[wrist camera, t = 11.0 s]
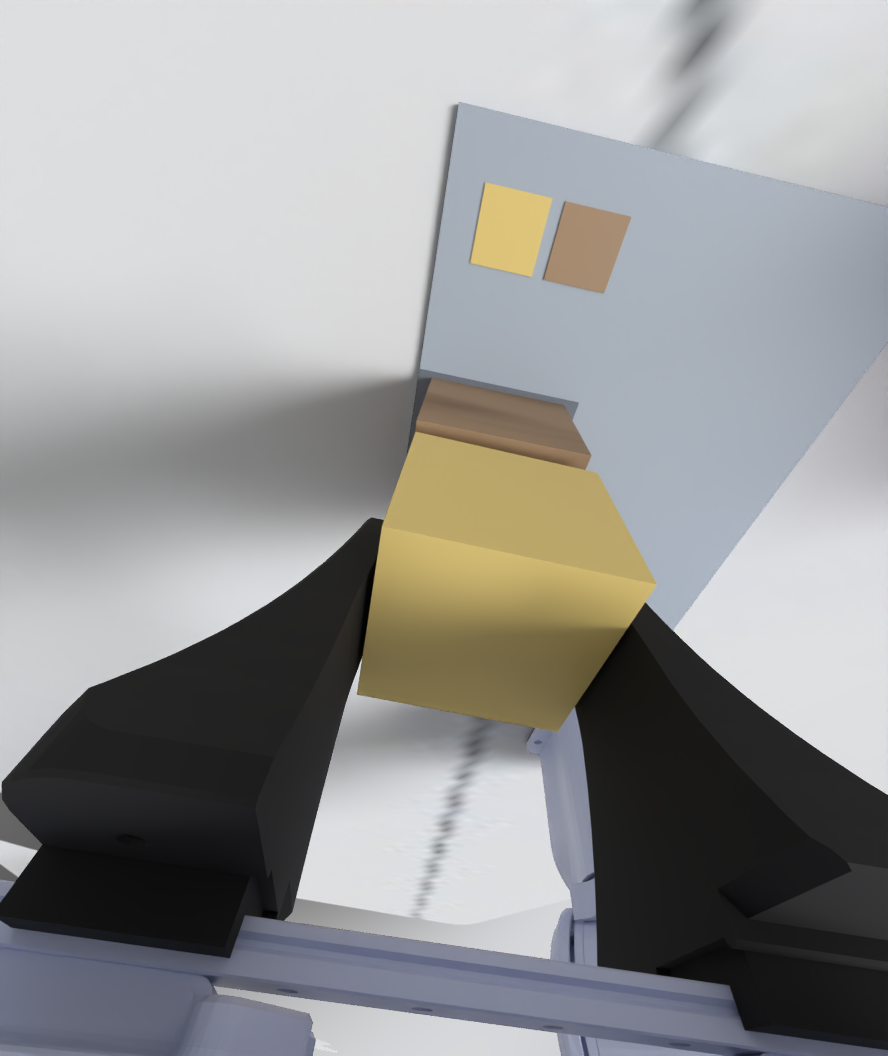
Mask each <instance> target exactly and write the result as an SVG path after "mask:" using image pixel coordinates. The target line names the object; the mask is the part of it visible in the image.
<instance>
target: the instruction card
mask: <svg viewBox="0 0 888 1056" xmlns="http://www.w3.org/2000/svg"><path fill="white" fill-rule="evenodd" d="M887 342H888V207H886V206H882V205H878V204H874V203H870V202H866V201H862V200H857V199H853V198H849V197H845V196H841V195H837V194H833V193H829V192H825V191H821V190H817V189H813V188H809V187H804V186H800V185H796V184H792V183H788V182H784V181H780V180H776V179H772V178H768V177H764V176H760V175H756V174H751V173H747V172H743V171H739V170H735V169H731V168H727V167H723V166H719V165H715V164H711V163H707V162H703V161H698V160H694V159H690V158H686V157H682V156H678V155H674V154H670V153H666V152H662V151H658V150H654V149H650V148H645V147H641V146H637V145H633V144H629V143H625V142H621V141H617V140H613V139H609V138H605V137H601V136H596V135H592V134H588V133H584V132H580V131H576V130H572V129H568V128H564V127H560V126H556V125H552V124H548V123H543V122H539V121H535V120H531V119H527V118H523V117H519V116H515V115H511V114H507V113H503V112H499V111H495V110H490V109H486V108H482V107H478V106H474V105H470V104H466V103H462V102H459V105H458V112H457V118H456V125H455V132H454V139H453V146H452V152H451V159H450V166H449V173H448V179H447V186H446V193H445V200H444V207H443V213H442V220H441V227H440V234H439V241H438V247H437V254H436V261H435V268H434V274H433V281H432V288H431V295H430V302H429V308H428V315H427V322H426V329H425V336H424V342H423V349H422V356H421V363H420V369H419V375H418V382H417V389H416V396H415V403H414V409H413V416H412V423H411V430H410V436H409V443H408V450H407V455H408V452H409V449H410V446H411V443H412V440H413V438H414V435H415V429H416V422H417V418H418V415H419V412H420V410H421V407H422V404H423V401H424V398H425V396H426V393H427V390H428V387H429V384H430V382H431V379H432V378H436V379H441V380H446V381H451V382H456V383H460V384H465V385H470V386H475V387H479V388H484V389H489V390H494V391H498V392H503V393H508V394H513V395H518V396H522V397H527V398H532V399H537V400H541V401H546V402H551V403H556V404H560V405H564V406H565V408H566V410H567V411H568V413H569V415H570V417H571V419H572V421H573V422H574V424H575V426H576V428H577V430H578V432H579V433H580V435H581V437H582V439H583V441H584V443H585V444H586V446H587V448H588V450H589V452H590V454H591V455H592V456H591V458H590V461H589V463H588V465H587V468H586V470H587V471H592V472H596V473H598V475H599V476H600V478H601V480H602V482H603V484H604V486H605V488H606V490H607V491H608V493H609V495H610V497H611V499H612V501H613V503H614V505H615V506H616V508H617V510H618V512H619V514H620V516H621V518H622V520H623V521H624V523H625V525H626V527H627V529H628V531H629V533H630V535H631V536H632V538H633V540H634V542H635V544H636V546H637V548H638V550H639V551H640V553H641V555H642V557H643V559H644V561H645V563H646V565H647V567H648V568H649V570H650V572H651V574H652V576H653V578H654V580H655V582H656V583H657V586H656V587H655V589H654V590H653V592H652V593H651V594H650V596H649V597H648V599H647V600H646V603H647V604H648V605H649V606H650V608H651V609H652V610H653V611H654V612H655V613H656V614H657V615H658V616H659V617H660V618H661V619H662V620H663V621H664V622H665V623H666V624H667V625H668V626H669V627H670V628H671V629H672V630H674V628H675V627H676V625H677V624H678V623H679V621H680V620H681V619H682V617H683V616H684V615H685V613H686V612H687V611H688V609H689V608H690V607H691V605H692V604H693V603H694V601H695V600H696V599H697V597H698V596H699V595H700V593H701V592H702V591H703V589H704V588H705V587H706V585H707V584H708V583H709V581H710V580H711V578H712V577H713V576H714V574H715V573H716V572H717V570H718V569H719V568H720V566H721V565H722V564H723V562H724V561H725V560H726V558H727V557H728V556H729V554H730V553H731V552H732V550H733V549H734V548H735V546H736V545H737V544H738V542H739V541H740V540H741V538H742V537H743V535H744V534H745V533H746V531H747V530H748V529H749V527H750V526H751V525H752V523H753V522H754V521H755V519H756V518H757V517H758V515H759V514H760V513H761V511H762V510H763V509H764V507H765V506H766V505H767V503H768V502H769V501H770V499H771V498H772V497H773V495H774V494H775V493H776V491H777V490H778V488H779V487H780V486H781V484H782V483H783V482H784V480H785V479H786V478H787V476H788V475H789V474H790V472H791V471H792V470H793V468H794V467H795V466H796V464H797V463H798V462H799V460H800V459H801V458H802V456H803V455H804V454H805V452H806V451H807V450H808V448H809V447H810V445H811V444H812V443H813V441H814V440H815V439H816V437H817V436H818V435H819V433H820V432H821V431H822V429H823V428H824V427H825V425H826V424H827V423H828V421H829V420H830V419H831V417H832V416H833V415H834V413H835V412H836V411H837V409H838V408H839V407H840V405H841V404H842V403H843V401H844V400H845V398H846V397H847V396H848V394H849V393H850V392H851V390H852V389H853V388H854V386H855V385H856V384H857V382H858V381H859V380H860V378H861V377H862V376H863V374H864V373H865V372H866V370H867V369H868V368H869V366H870V365H871V364H872V362H873V361H874V360H875V358H876V357H877V355H878V354H879V353H880V351H881V350H882V349H883V347H884V346H885V345H886V343H887Z"/></svg>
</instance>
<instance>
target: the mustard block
mask: <svg viewBox="0 0 888 1056" xmlns="http://www.w3.org/2000/svg"><path fill="white" fill-rule="evenodd" d="M656 586H657V583H656V582H655V580H654V578H653V576H652V574H651V572H650V570H649V568H648V567H647V565H646V563H645V561H644V559H643V557H642V555H641V553H640V551H639V550H638V548H637V546H636V544H635V542H634V540H633V538H632V536H631V535H630V533H629V531H628V529H627V527H626V525H625V523H624V521H623V520H622V518H621V516H620V514H619V512H618V510H617V508H616V506H615V505H614V503H613V501H612V499H611V497H610V495H609V493H608V491H607V490H606V488H605V486H604V484H603V482H602V480H601V478H600V476H599V475H598V473H596V472H592V471H587V470H583V469H579V468H574V467H570V466H565V465H561V464H557V463H552V462H548V461H543V460H539V459H534V458H530V457H526V456H521V455H517V454H512V453H508V452H504V451H499V450H495V449H490V448H486V447H481V446H477V445H473V444H468V443H464V442H459V441H455V440H451V439H446V438H442V437H437V436H433V435H429V434H424V433H420V432H415V435H414V438H413V440H412V443H411V446H410V449H409V452H408V455H407V457H406V460H405V463H404V466H403V469H402V471H401V474H400V477H399V480H398V483H397V485H396V488H395V491H394V494H393V497H392V500H391V502H390V505H389V508H388V511H387V514H386V516H385V519H384V522H383V525H382V530H381V536H380V543H379V550H378V557H377V563H376V570H375V577H374V583H373V590H372V597H371V604H370V610H369V617H368V624H367V630H366V637H365V644H364V651H363V657H362V664H361V671H360V677H359V684H358V691H357V695H362V696H368V697H373V698H378V699H384V700H389V701H394V702H400V703H405V704H410V705H415V706H421V707H426V708H431V709H437V710H442V711H447V712H453V713H458V714H463V715H468V716H474V717H479V718H484V719H490V720H495V721H500V722H506V723H511V724H516V725H521V726H527V727H532V728H537V729H543V730H548V731H553V732H558V731H559V729H560V728H561V726H562V725H563V723H564V722H565V720H566V719H567V717H568V716H569V714H570V713H571V711H572V710H573V708H574V707H575V705H576V704H577V702H578V701H579V699H580V698H581V697H582V695H583V694H584V692H585V691H586V689H587V688H588V686H589V685H590V683H591V682H592V680H593V679H594V677H595V676H596V674H597V673H598V671H599V670H600V668H601V667H602V665H603V664H604V663H605V661H606V660H607V658H608V657H609V655H610V654H611V652H612V651H613V649H614V648H615V646H616V645H617V643H618V642H619V640H620V639H621V637H622V636H623V634H624V633H625V631H626V630H627V628H628V627H629V626H630V624H631V623H632V621H633V620H634V618H635V617H636V615H637V614H638V612H639V611H640V609H641V608H642V606H643V605H644V603H645V602H646V600H647V599H648V597H649V596H650V594H651V593H652V592H653V590H654V589H655V587H656Z"/></svg>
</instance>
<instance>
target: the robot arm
mask: <svg viewBox="0 0 888 1056" xmlns="http://www.w3.org/2000/svg"><path fill="white" fill-rule="evenodd" d="M383 522H384V520H381V519H376V518H370V519H368V520H367V521H366V522H365V523H364V524H363V525H362V526H361V527H360V529H359V530H358V531H357V532H356V533H355V534H354V535H353V536H352V537H351V538H350V539H349V540H348V541H347V542H346V543H345V544H344V545H343V546H342V547H341V548H339V549H338V550H337V551H336V552H335V553H334V554H333V555H332V556H331V557H330V558H328V559H327V560H326V561H325V562H324V563H323V564H322V565H320V566H319V567H318V568H317V569H315V570H314V571H313V572H312V573H310V574H309V575H308V576H307V577H305V578H304V579H303V580H302V581H300V582H299V583H298V584H296V585H295V586H293V587H292V588H291V589H289V590H288V591H286V592H285V593H284V594H282V595H281V596H279V597H278V598H276V599H275V600H273V601H272V602H270V603H269V604H267V605H265V606H264V607H262V608H261V609H259V610H257V611H255V612H254V613H252V614H250V615H249V616H247V617H245V618H244V619H242V620H240V621H239V622H237V623H235V624H233V625H231V626H230V627H228V628H226V629H224V630H222V631H220V632H218V633H216V634H214V635H212V636H210V637H208V638H206V639H204V640H202V641H200V642H198V643H196V644H194V645H192V646H190V647H188V648H186V649H184V650H181V651H179V652H177V653H175V654H173V655H170V656H168V657H166V658H163V659H161V660H159V661H157V662H154V663H152V664H149V665H147V666H144V667H142V668H139V669H136V670H134V671H131V672H129V673H126V674H124V675H121V676H119V677H116V678H114V679H111V680H109V681H106V682H104V683H101V684H98V685H96V686H93V687H90V688H88V689H87V690H86V691H85V692H84V693H83V694H82V695H81V696H80V697H79V698H78V699H77V700H76V701H75V702H74V703H73V704H72V705H71V706H70V707H69V708H68V709H67V710H66V711H65V712H64V713H63V714H62V715H61V716H60V717H59V718H58V720H57V721H56V722H55V723H54V724H53V725H52V726H51V727H50V728H49V730H48V731H47V732H46V733H45V734H44V735H43V736H42V737H41V739H40V740H39V741H38V742H37V743H36V744H35V745H34V746H33V748H32V749H31V750H30V751H29V752H28V753H27V754H26V756H25V757H24V758H23V759H22V760H21V761H20V762H19V763H18V765H17V766H16V767H15V768H14V769H13V770H12V771H11V772H10V774H9V775H8V776H7V777H6V778H5V779H4V780H3V782H2V800H3V801H4V802H5V804H6V806H7V807H8V809H9V810H10V811H11V812H12V813H13V814H14V815H15V816H16V817H17V818H18V819H19V821H20V822H21V823H22V824H23V825H24V826H25V827H26V828H27V829H28V830H29V831H30V832H31V833H32V834H33V835H34V836H35V837H36V838H37V839H38V840H39V841H40V842H41V843H42V844H43V845H42V846H41V847H40V849H39V850H38V852H37V853H36V854H35V856H34V857H33V858H32V860H31V861H30V862H29V864H28V865H27V867H26V868H25V869H24V871H23V872H22V873H21V875H20V876H19V878H18V879H17V880H16V882H12V881H5V880H0V1056H313V1051H314V1046H315V1041H316V1039H315V1037H314V1034H313V1032H311V1029H312V1024H313V1022H312V1019H311V1017H310V1015H309V1014H308V1013H305V1012H300V1011H295V1010H292V1009H287V1008H283V1007H279V1006H275V1005H271V1004H267V1003H262V1002H258V1001H254V1000H249V999H245V998H240V997H234V996H227V995H218V994H217V992H216V990H215V988H214V987H213V986H218V987H225V988H233V989H240V990H247V991H255V992H262V993H269V994H276V995H284V996H291V997H299V998H306V999H313V1000H320V1001H328V1002H335V1003H343V1004H350V1005H357V1006H365V1007H372V1008H380V1009H388V1010H394V1011H401V1012H409V1013H416V1014H423V1015H430V1016H438V1017H445V1018H452V1019H460V1020H467V1021H474V1022H482V1023H489V1024H496V1025H504V1026H512V1027H519V1028H526V1029H533V1030H541V1031H548V1032H555V1033H557V1036H558V1042H559V1047H560V1052H561V1056H888V795H887V794H885V793H883V792H882V791H880V790H879V789H877V788H875V787H874V786H872V785H870V784H869V783H867V782H866V781H864V780H863V779H861V778H859V777H858V776H856V775H855V774H853V773H852V772H850V771H849V770H847V769H846V768H844V767H843V766H841V765H840V764H838V763H837V762H835V761H834V760H832V759H831V758H829V757H828V756H826V755H825V754H823V753H822V752H820V751H819V750H817V749H816V748H815V747H813V746H812V745H810V744H809V743H807V742H806V741H805V740H803V739H802V738H800V737H799V736H797V735H796V734H795V733H793V732H792V731H791V730H789V729H788V728H787V727H785V726H784V725H783V724H781V723H780V722H779V721H777V720H776V719H775V718H773V717H772V716H771V715H769V714H768V713H767V712H765V711H764V710H763V709H761V708H760V707H759V706H757V705H756V704H755V703H754V702H752V701H751V700H750V699H749V698H747V697H746V696H745V695H744V694H742V693H741V692H740V691H739V690H738V689H736V688H735V687H734V686H733V685H732V684H730V683H729V682H728V681H727V680H726V679H724V678H723V677H722V676H721V675H720V674H719V673H717V672H716V671H715V670H714V669H713V668H712V667H711V666H709V665H708V664H707V663H706V662H705V661H704V660H703V659H702V658H701V657H700V656H699V655H697V654H696V653H695V652H694V651H693V650H692V649H691V648H690V647H689V646H688V645H687V644H686V643H685V642H684V641H683V640H682V639H681V638H680V637H679V636H678V635H677V634H676V633H675V632H674V631H673V630H672V629H671V628H670V627H669V626H668V625H667V624H666V623H665V622H664V621H663V620H662V619H661V618H660V617H659V616H658V615H657V614H656V613H655V612H654V611H653V610H652V609H651V608H650V606H649V605H648V604H647V603H646V602H645V603H644V605H643V606H642V608H641V609H640V611H639V612H638V614H637V615H636V617H635V618H634V620H633V621H632V623H631V624H630V626H629V627H628V628H627V630H626V631H625V633H624V634H623V636H622V637H621V639H620V640H619V642H618V643H617V645H616V646H615V648H614V649H613V651H612V652H611V654H610V655H609V657H608V658H607V660H606V661H605V663H604V664H603V665H602V667H601V668H600V670H599V671H598V673H597V674H596V676H595V677H594V679H593V680H592V682H591V683H590V685H589V686H588V688H587V689H586V691H585V692H584V694H583V695H582V697H581V698H580V699H579V701H578V702H577V704H576V705H575V707H574V708H573V710H572V711H571V713H570V714H569V716H568V717H567V719H566V720H565V722H564V723H563V725H562V726H561V728H560V729H559V731H558V732H553V731H548V730H543V729H537V728H535V729H534V731H533V733H532V734H531V736H530V738H529V740H528V741H527V743H526V750H527V751H528V752H529V753H533V754H539V755H540V759H541V767H542V775H543V784H544V792H545V800H546V808H547V817H548V825H549V833H550V841H551V848H552V853H553V857H554V861H555V864H556V866H557V869H558V871H559V873H560V875H561V877H562V879H563V881H564V882H565V884H566V885H567V887H568V888H569V890H570V895H571V901H572V908H567V909H565V910H564V911H563V912H562V913H561V915H560V918H559V921H558V924H557V927H556V929H555V931H554V934H553V938H552V943H551V956H550V957H551V958H550V959H542V958H536V957H529V956H522V955H516V954H508V953H501V952H495V951H488V950H481V949H474V948H467V947H461V946H454V945H447V944H440V943H433V942H426V941H419V940H412V939H405V938H398V937H392V936H385V935H378V934H371V933H364V932H357V931H350V930H343V929H336V928H329V927H322V926H316V925H309V924H302V923H295V922H288V921H284V920H285V919H286V918H287V917H288V916H289V915H290V914H291V913H292V911H293V907H294V902H295V899H296V895H297V891H298V887H299V883H300V879H301V874H302V870H303V866H304V862H305V858H306V854H307V850H308V846H309V842H310V838H311V834H312V830H313V826H314V822H315V818H316V815H317V811H318V807H319V803H320V799H321V795H322V791H323V787H324V783H325V779H326V776H327V772H328V768H329V764H330V760H331V756H332V753H333V749H334V745H335V741H336V737H337V734H338V730H339V726H340V722H341V719H342V715H343V711H344V708H345V704H346V701H347V698H348V695H349V692H350V689H351V686H352V683H353V680H354V678H355V675H356V672H357V670H358V667H359V664H360V661H361V659H362V656H363V651H364V644H365V637H366V630H367V624H368V617H369V610H370V604H371V597H372V590H373V583H374V577H375V570H376V563H377V557H378V550H379V543H380V536H381V530H382V525H383Z"/></svg>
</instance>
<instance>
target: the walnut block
mask: <svg viewBox="0 0 888 1056" xmlns="http://www.w3.org/2000/svg"><path fill="white" fill-rule="evenodd" d="M415 432H420V433H424V434H429V435H433V436H437V437H442V438H446V439H451V440H455V441H459V442H464V443H468V444H473V445H477V446H481V447H486V448H490V449H495V450H499V451H504V452H508V453H512V454H517V455H521V456H526V457H530V458H534V459H539V460H543V461H548V462H552V463H557V464H561V465H565V466H570V467H574V468H579V469H583V470H586V468H587V465H588V463H589V461H590V458H591V456H592V455H591V454H590V452H589V450H588V448H587V446H586V444H585V443H584V441H583V439H582V437H581V435H580V433H579V432H578V430H577V428H576V426H575V424H574V422H573V421H572V419H571V417H570V415H569V413H568V411H567V410H566V408H565V406H564V405H560V404H556V403H551V402H546V401H541V400H537V399H532V398H527V397H522V396H518V395H513V394H508V393H503V392H498V391H494V390H489V389H484V388H479V387H475V386H470V385H465V384H460V383H456V382H451V381H446V380H441V379H436V378H432V379H431V382H430V384H429V387H428V390H427V393H426V396H425V398H424V401H423V404H422V407H421V410H420V412H419V415H418V418H417V422H416V429H415Z"/></svg>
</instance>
